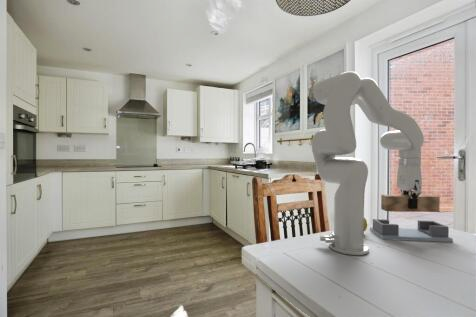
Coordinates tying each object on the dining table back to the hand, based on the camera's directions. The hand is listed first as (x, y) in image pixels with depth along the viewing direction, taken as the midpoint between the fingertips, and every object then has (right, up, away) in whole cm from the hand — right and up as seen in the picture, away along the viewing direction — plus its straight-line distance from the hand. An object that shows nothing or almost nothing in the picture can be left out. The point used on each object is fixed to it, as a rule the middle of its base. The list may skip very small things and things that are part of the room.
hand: (409, 206), depth 102 cm
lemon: (-19, -12, +2) cm, 23 cm away
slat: (0, -1, 0) cm, 1 cm away
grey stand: (0, -12, 0) cm, 12 cm away
